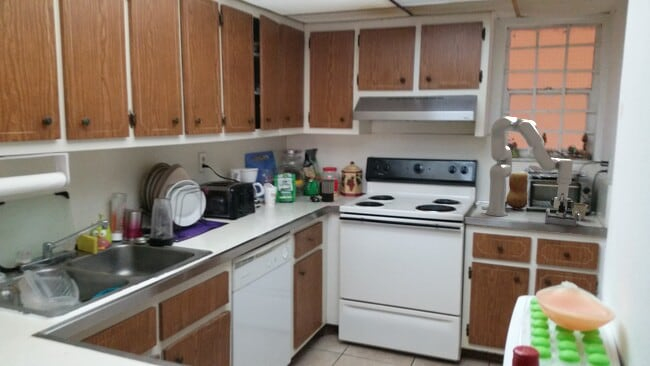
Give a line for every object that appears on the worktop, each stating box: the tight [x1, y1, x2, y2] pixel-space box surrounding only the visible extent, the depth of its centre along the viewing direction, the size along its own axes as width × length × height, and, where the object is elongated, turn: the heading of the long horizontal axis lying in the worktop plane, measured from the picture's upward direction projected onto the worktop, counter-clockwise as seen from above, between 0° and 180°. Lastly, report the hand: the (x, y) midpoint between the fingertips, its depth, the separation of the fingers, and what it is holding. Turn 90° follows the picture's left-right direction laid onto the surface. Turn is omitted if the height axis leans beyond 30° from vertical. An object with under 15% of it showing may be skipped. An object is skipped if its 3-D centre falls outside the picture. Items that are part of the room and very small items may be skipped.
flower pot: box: [571, 202, 589, 220], centre depth 308 cm, size 9×9×9 cm
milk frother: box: [309, 178, 336, 203], centre depth 356 cm, size 14×16×15 cm
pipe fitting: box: [544, 207, 582, 227], centre depth 294 cm, size 18×10×7 cm, turn 61°
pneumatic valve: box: [550, 196, 575, 217], centre depth 294 cm, size 6×12×12 cm, turn 40°
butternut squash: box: [505, 170, 529, 210], centre depth 336 cm, size 14×13×25 cm
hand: (561, 211), depth 294 cm, fingers closed on pneumatic valve, 6 cm apart
